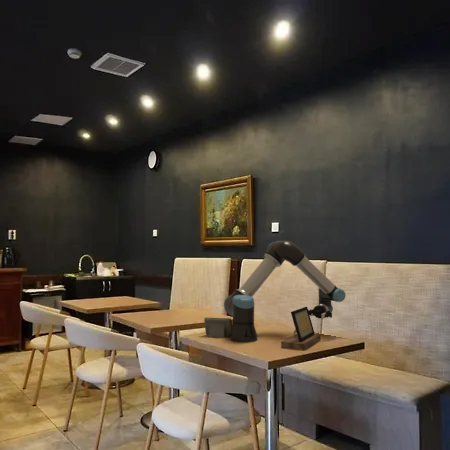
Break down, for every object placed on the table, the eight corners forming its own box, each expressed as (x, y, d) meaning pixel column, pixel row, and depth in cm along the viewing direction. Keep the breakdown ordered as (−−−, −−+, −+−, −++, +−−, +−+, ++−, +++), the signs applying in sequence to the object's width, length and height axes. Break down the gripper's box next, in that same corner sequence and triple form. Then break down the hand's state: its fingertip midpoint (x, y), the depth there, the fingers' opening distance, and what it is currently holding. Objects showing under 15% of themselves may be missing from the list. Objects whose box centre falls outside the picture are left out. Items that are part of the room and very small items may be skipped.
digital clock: (234, 336, 246) (234, 317, 247) (227, 339, 238) (227, 319, 239) (209, 334, 254) (209, 315, 254) (201, 336, 245) (201, 317, 246)
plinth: (281, 347, 217) (281, 341, 217) (299, 338, 241) (299, 332, 242) (304, 350, 211) (304, 344, 211) (320, 340, 236) (320, 334, 236)
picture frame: (301, 341, 216) (298, 311, 217) (284, 342, 220) (281, 312, 221) (315, 334, 236) (311, 306, 238) (299, 334, 240) (295, 307, 242)
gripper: (342, 319, 253) (332, 324, 234) (300, 316, 265) (288, 320, 246) (341, 306, 253) (332, 310, 235) (300, 303, 265) (288, 307, 246)
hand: (310, 315), depth 240 cm, fingers open, 13 cm apart
